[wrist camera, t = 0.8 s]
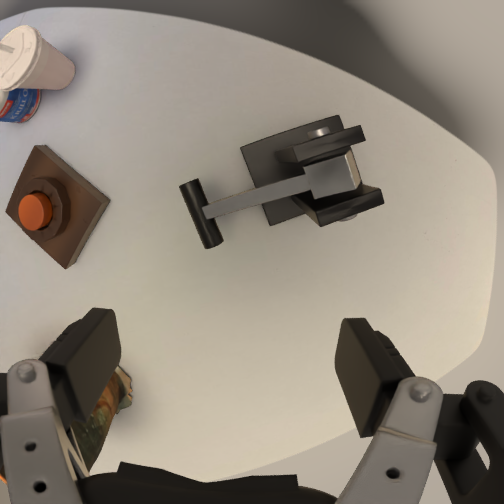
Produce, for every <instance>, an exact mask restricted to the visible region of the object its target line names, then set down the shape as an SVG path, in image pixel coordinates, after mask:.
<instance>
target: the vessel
mask: <svg viewBox="0 0 504 504" xmlns="http://www.w3.org/2000/svg"><path fill="white" fill-rule="evenodd" d="M130 380H131V379H130V378H129V377H128V376H127V375H126V374H125V373H124V372H123V371H122V370H121V369H120V368H119V367H118V366H117V368H116V369H115V371H114V373H113V375H112V377H111V378H110V380H109V382H108V384H107V386H106V388H105V389H104V391H103V393H102V395H101V397H100V399H99V401H98V402H97V404H96V406H95V408H94V410H93V412H92V414H91V416H90V418H89V420H88V422H87V423H82V422H78V421H75V420H73V422H72V424H71V428H72V430H73V432H74V435H75V438H76V441H77V444H78V447H79V450H80V452H81V455H82V458H83V460H84V463H85V466H86V468H87V470H88V473H89V472H90V470H91V468H92V466H93V464H94V463H95V461H96V460H97V458H98V456H99V454H100V452H101V450H102V447H103V444H104V441H105V438H106V436H107V434H108V431H109V428H110V425H111V422H112V419H113V417H114V415H115V413H116V414H118V413H119V411H120V410H121V409H124V408H126V407H129V406H130V405H131V400H132V397H131V396H129V395H128V394H129V393H130V392H132V389H131V388H130ZM0 479H1V480H2V481H3V482H4V483H5V484H7V481H6V475H5V468H4V464H3V466H2V468H1V470H0Z"/></svg>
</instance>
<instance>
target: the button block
mask: <svg viewBox="0 0 504 504" xmlns="http://www.w3.org/2000/svg"><path fill="white" fill-rule="evenodd" d="M34 193H43V194H45V195H46V196H47V197H48V198H49V200H50V201H51V204H52V210H53V212H52V218H51V220H50V222H49V223H48V224H47V225H46V226H44V227H42V228H39V229H37V230H34V231H31V230H28V229H26V228H25V227H24V226H23V224H22V223H21V221H20V218H19V205H20V202H21V200H22V199H23V198H24V197H25V196H27V195H30V194H34ZM109 202H110V200H109V199H108V198H107V197H106V196H105V195H103V194H102V193H101V192H100V191H99V190H97V189H96V188H95V187H94V186H92V185H91V184H90V183H89V182H88V181H86V180H85V179H84V178H83V177H82V176H81V175H79V174H78V173H77V172H76V171H75V170H73V169H72V168H71V167H70V166H69V165H68V164H66V163H65V162H64V161H63V160H62V159H61V158H59V157H58V156H57V155H56V154H55V153H54V152H52V151H51V150H50V149H49V148H48V147H47V146H46V145H35V146H34V148H33V149H32V151H31V153H30V156H29V158H28V160H27V162H26V164H25V166H24V168H23V170H22V172H21V175H20V177H19V179H18V181H17V184H16V186H15V188H14V191H13V193H12V196H11V198H10V201H9V203H8V206H7V209H6V211H5V212H6V213H7V214H8V215H9V216H10V217H11V218H12V219H13V220H14V221H15V222H16V223H17V224H18V225H19V226H20V227H21V228H22V230H23V231H24V232H25V233H26V234H27V235H28V236H29V237H30V238H31V239H32V240H34V241H35V242H36V243H37V244H38V245H39V246H40V247H41V248H42V249H43V250H44V251H45V252H47V253H48V254H49V255H50V256H51V257H52V258H53V259H54V260H55V261H56V262H58V263H59V264H60V265H61V266H62V267H63V268H64V269H67V268H69V267H70V266H71V265H73V264H74V263H75V262H76V260H77V258H78V256H79V254H80V252H81V250H82V248H83V247H84V245H85V243H86V241H87V239H88V237H89V236H90V234H91V232H92V230H93V229H94V227H95V225H96V223H97V222H98V220H99V218H100V217H101V215H102V213H103V212H104V210H105V208H106V207H107V205H108V203H109Z"/></svg>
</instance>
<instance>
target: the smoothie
mask: <svg viewBox="0 0 504 504" xmlns="http://www.w3.org/2000/svg"><path fill="white" fill-rule="evenodd" d="M74 74H75V66H74V64H73V62H72V61H70V60H69V59H68V58H67V57H66V56H64V55H63V54H62V53H61V52H59V51H58V50H57V49H56V48H54V47H53V46H52V45H51V44H49V43H48V42H47V41H46V40H44V39H43V38H42V37H41V34H40V33H39V31H38V30H37V29H35V28H32V27H30V26H26V25H24V26H19V27H17V28H15V29H13V30H12V31H10V32H9V33H8V34H7V35H6V36H5V37H4V38H3V39H2V40H1V42H0V90H1V91H5V92H6V91H12V90H14V89H15V88H28V89H51V90H61V89H63V88H65V87H66V86H68V85H69V84H70V82H71V81H72V79H73V77H74Z"/></svg>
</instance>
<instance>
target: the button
mask: <svg viewBox="0 0 504 504" xmlns="http://www.w3.org/2000/svg"><path fill="white" fill-rule="evenodd" d="M52 212H53V210H52V204H51V201H50V200H49V198H48V197H47V196H46V195H45V194H43V193H34V194H30V195H27V196H25V197H24V198H23V199H22V200H21V202H20V205H19V218H20V221H21V223H22V224H23V226H24V227H25V228H26V229H28V230H31V231H34V230H37V229H39V228H42V227H44V226H46V225H47V224H48V223H49V222H50V220H51V218H52Z"/></svg>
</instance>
